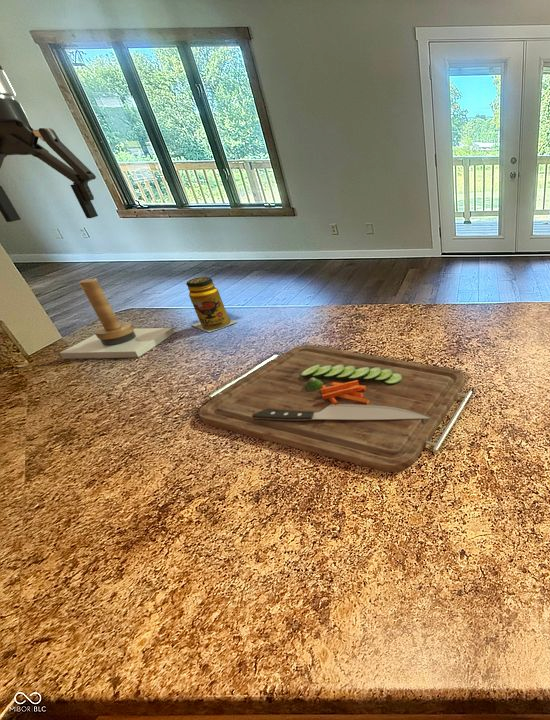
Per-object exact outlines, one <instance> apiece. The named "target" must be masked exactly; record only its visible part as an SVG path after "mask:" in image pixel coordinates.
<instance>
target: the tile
mask: <svg viewBox="0 0 550 720" xmlns="http://www.w3.org/2000/svg"><path fill="white" fill-rule="evenodd" d="M133 331H134V333H135V335H136V337H135V338H134V339H132V340H130V341H128V342H125V343H122V344H118V345H110V346H107V345H103V344H102V342H101V341H100V339H98V338H97V336H96V334H95V333H94V334H93V335H91V336H89V337H87V338H85V339H84V340H82V341H79V342H78V343H76V344H74V345H71V346H70V347H68V348H66V349H65V350H64V349H63V351H60V352H59V355H60V356H61V357H62V359H63V360H66V359H67V360H69V359H70V360H71V359H116V358H117V359H119V358H120V359H121V358H140V357H141V356H143V355H144V354H146V353H147V352H148V351H150V350H152V349H153V348H155V347H156V346H158V345H159V344H161V343H163V342H164V341H165V340H167V339H169V338H170V337H171V336H173V335H174V334H175V331H174V328H173V327H140V328H134V330H133Z"/></svg>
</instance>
